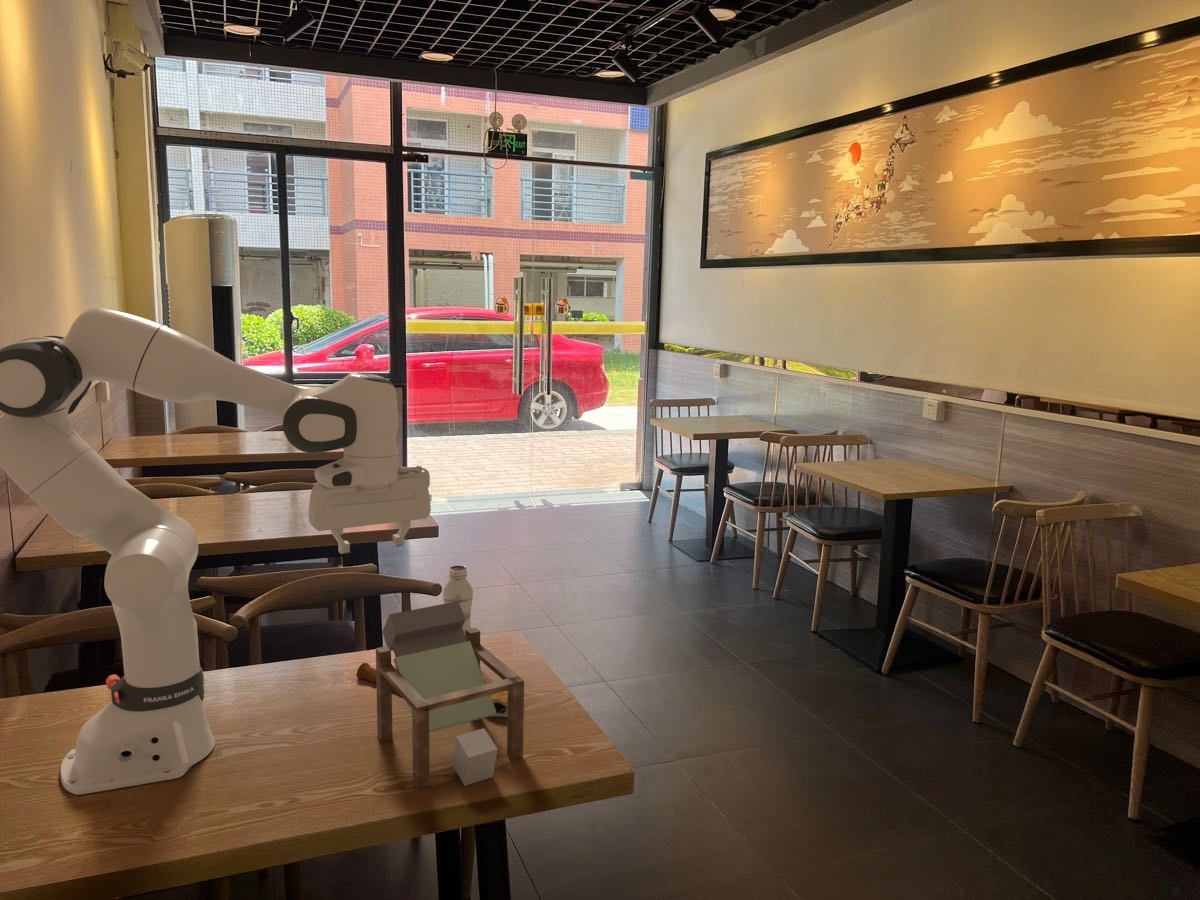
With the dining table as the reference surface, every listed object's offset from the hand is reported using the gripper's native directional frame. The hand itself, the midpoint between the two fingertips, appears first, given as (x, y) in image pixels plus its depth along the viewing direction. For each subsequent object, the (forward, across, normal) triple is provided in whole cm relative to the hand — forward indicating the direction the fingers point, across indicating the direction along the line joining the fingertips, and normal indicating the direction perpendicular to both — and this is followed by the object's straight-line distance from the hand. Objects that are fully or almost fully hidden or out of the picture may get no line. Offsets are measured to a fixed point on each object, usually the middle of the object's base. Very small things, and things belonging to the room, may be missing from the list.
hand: (371, 548), depth 147 cm
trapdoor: (+23, -9, +6) cm, 25 cm away
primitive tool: (+34, -10, -13) cm, 38 cm away
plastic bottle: (+34, -25, -20) cm, 47 cm away
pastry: (+34, -24, +4) cm, 41 cm away
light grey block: (+27, -9, +23) cm, 37 cm away
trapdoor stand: (+34, -9, +12) cm, 37 cm away
